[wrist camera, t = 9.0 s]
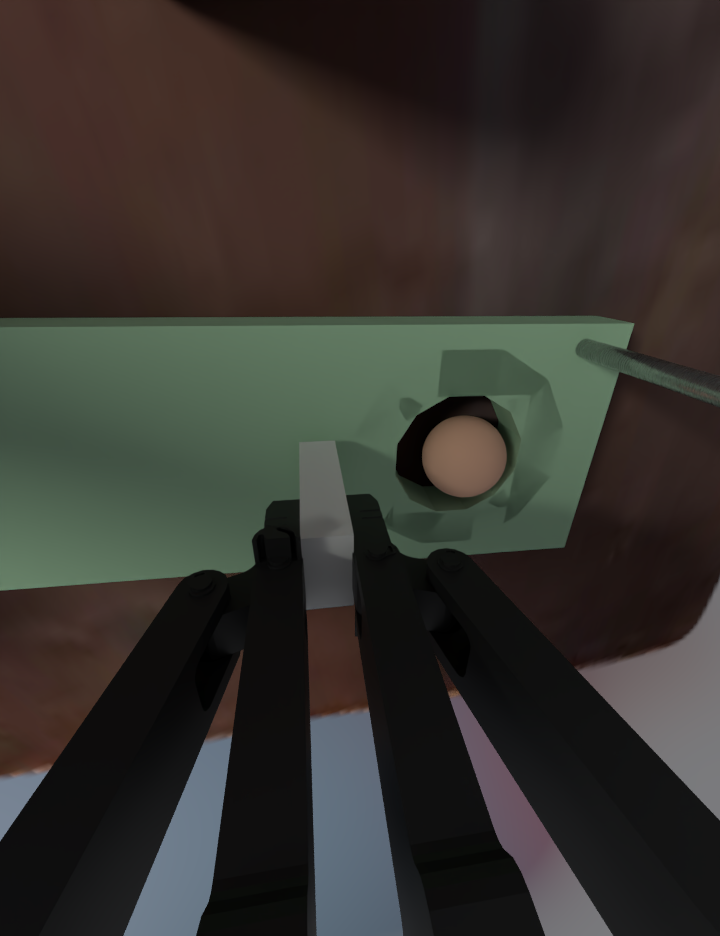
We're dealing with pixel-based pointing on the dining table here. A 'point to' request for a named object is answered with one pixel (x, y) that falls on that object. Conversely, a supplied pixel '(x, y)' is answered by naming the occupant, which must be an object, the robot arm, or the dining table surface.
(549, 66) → the dining table surface
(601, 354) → the flag pin
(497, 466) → the ball
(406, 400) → the putting green
